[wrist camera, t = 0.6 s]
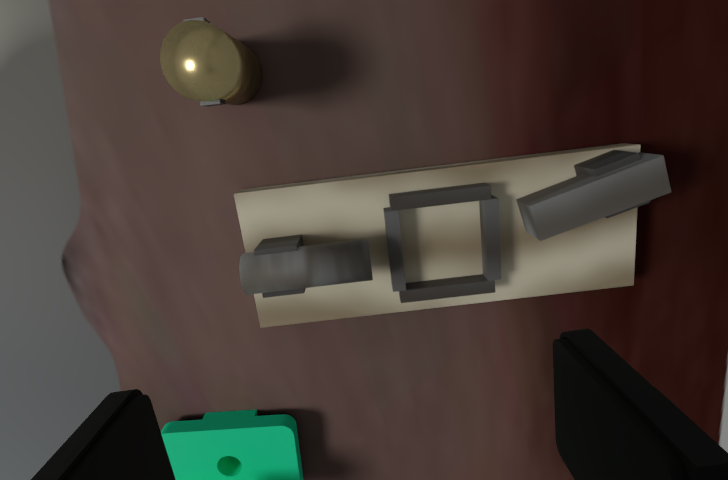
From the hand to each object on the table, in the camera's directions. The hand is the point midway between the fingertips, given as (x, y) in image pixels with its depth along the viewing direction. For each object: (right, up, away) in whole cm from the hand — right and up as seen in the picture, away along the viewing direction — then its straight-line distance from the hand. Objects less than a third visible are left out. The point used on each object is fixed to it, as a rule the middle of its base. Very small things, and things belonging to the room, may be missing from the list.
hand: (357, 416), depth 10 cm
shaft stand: (+6, +4, +26) cm, 27 cm away
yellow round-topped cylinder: (-10, +16, +22) cm, 29 cm away
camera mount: (-12, -15, +31) cm, 37 cm away
